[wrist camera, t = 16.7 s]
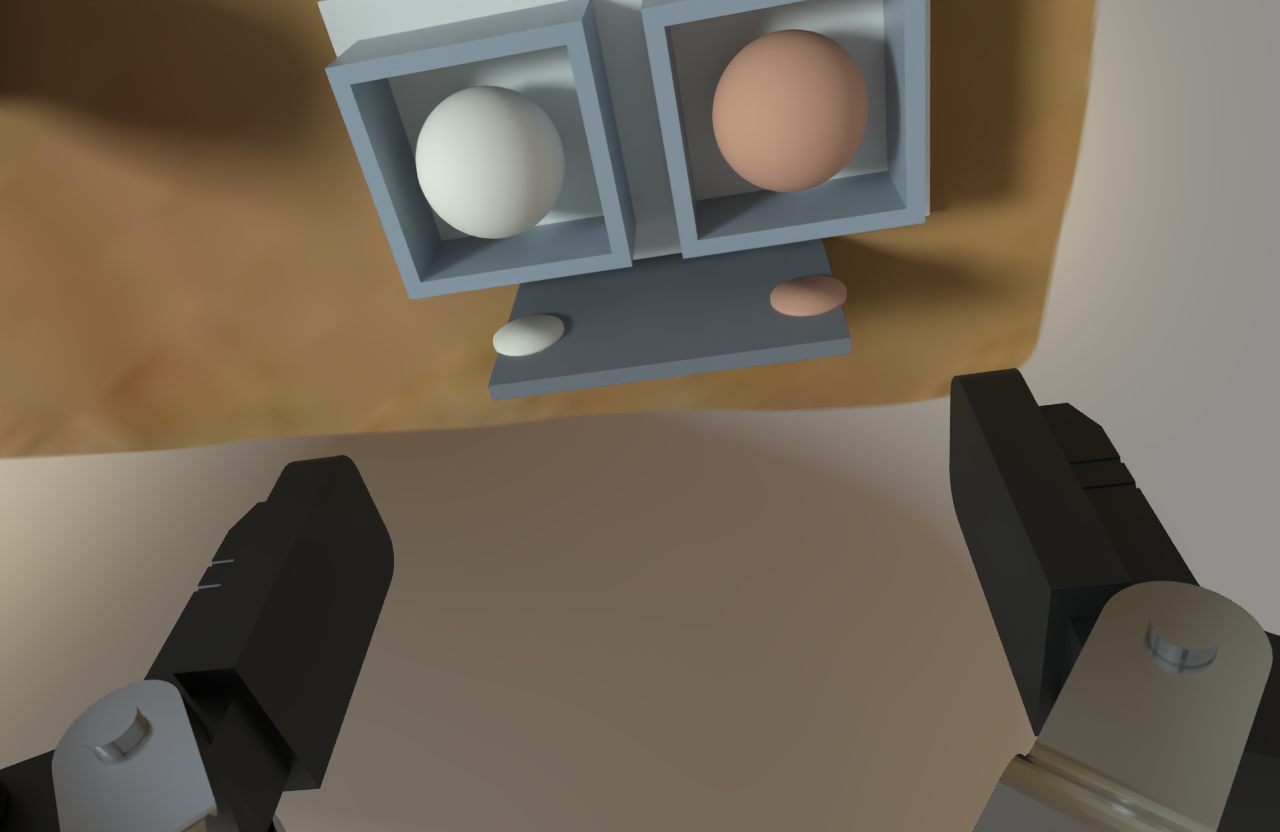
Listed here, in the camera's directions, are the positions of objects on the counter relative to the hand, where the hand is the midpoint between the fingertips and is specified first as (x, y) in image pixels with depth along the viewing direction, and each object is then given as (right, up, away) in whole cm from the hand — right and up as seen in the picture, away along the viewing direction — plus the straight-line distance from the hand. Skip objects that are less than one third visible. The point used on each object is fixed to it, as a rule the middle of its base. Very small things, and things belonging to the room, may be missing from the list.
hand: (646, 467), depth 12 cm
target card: (+1, +7, +24) cm, 25 cm away
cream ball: (-5, +9, +19) cm, 21 cm away
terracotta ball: (+5, +11, +17) cm, 21 cm away
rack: (0, +12, +21) cm, 24 cm away
